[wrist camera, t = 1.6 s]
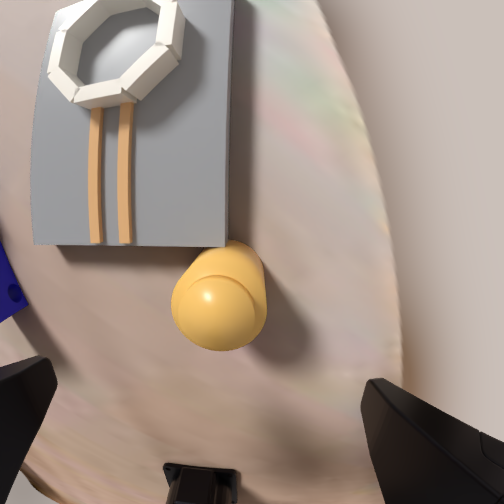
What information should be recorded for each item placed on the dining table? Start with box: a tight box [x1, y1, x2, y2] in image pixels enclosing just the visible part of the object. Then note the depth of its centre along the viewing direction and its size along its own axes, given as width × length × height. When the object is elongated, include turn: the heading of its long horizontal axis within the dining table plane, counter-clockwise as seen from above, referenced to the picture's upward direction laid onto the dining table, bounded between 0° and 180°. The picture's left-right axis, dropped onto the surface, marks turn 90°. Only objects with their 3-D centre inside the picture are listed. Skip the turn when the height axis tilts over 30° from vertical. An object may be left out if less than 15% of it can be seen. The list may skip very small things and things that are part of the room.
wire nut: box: [171, 240, 267, 351], centre depth 14 cm, size 4×4×6 cm
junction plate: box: [30, 0, 235, 247], centre depth 13 cm, size 16×12×4 cm
